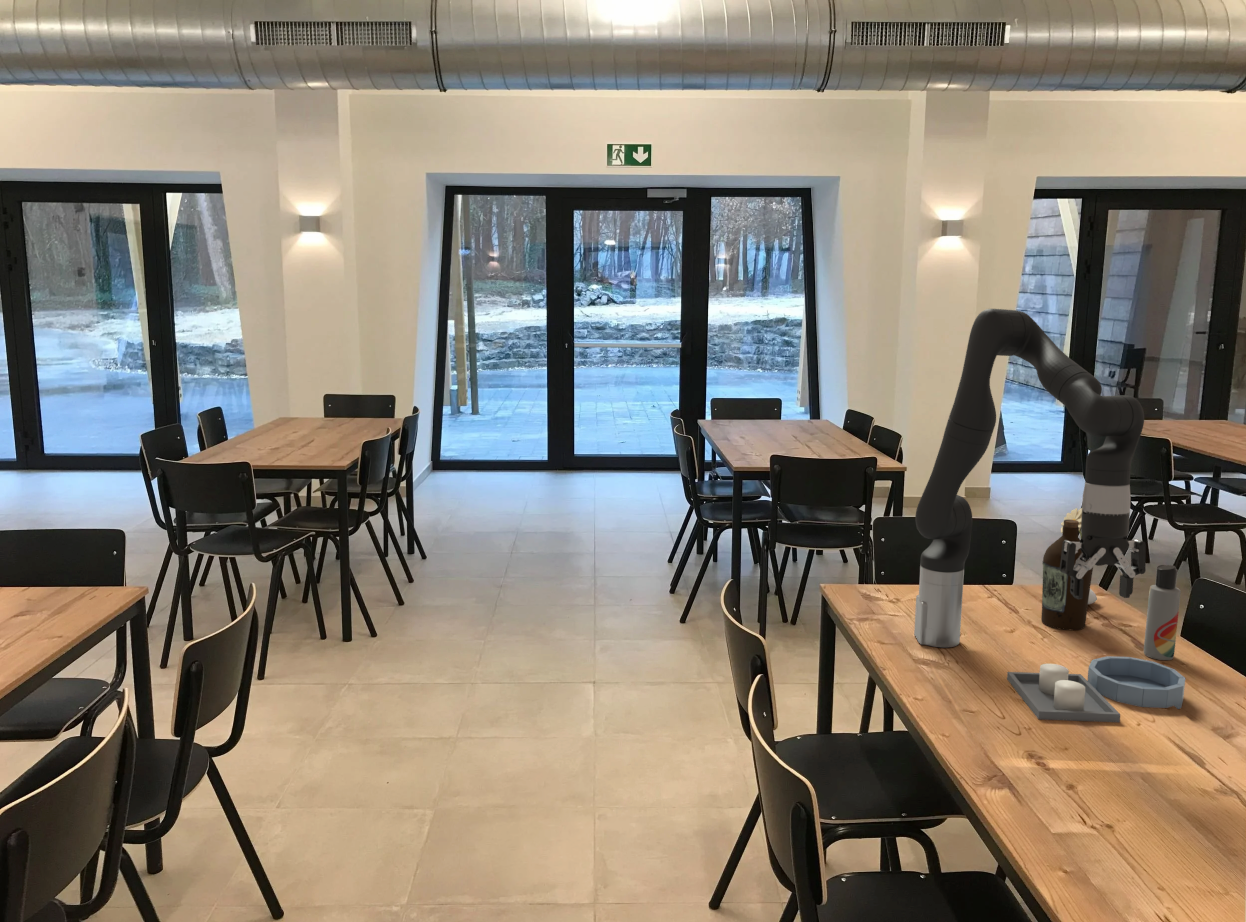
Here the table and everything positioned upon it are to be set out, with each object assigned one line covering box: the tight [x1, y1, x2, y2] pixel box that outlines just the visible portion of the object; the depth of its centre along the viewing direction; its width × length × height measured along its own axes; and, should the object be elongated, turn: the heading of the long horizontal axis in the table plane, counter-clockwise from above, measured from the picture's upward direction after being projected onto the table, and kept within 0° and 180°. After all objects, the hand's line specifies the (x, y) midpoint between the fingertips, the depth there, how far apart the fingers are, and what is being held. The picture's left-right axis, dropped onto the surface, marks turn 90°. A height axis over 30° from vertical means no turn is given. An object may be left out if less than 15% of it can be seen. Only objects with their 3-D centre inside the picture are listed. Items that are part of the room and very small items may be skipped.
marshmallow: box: [1038, 663, 1070, 696], centre depth 177 cm, size 5×5×4 cm
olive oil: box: [1040, 519, 1094, 631], centre depth 215 cm, size 11×11×25 cm
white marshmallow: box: [1053, 680, 1085, 711], centre depth 169 cm, size 5×5×4 cm
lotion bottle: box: [1143, 564, 1182, 661], centre depth 195 cm, size 6×6×20 cm
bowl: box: [1086, 655, 1186, 710], centre depth 177 cm, size 16×16×4 cm
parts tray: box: [1006, 671, 1121, 724], centre depth 173 cm, size 14×18×2 cm
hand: (1100, 597), depth 164 cm, fingers open, 8 cm apart
